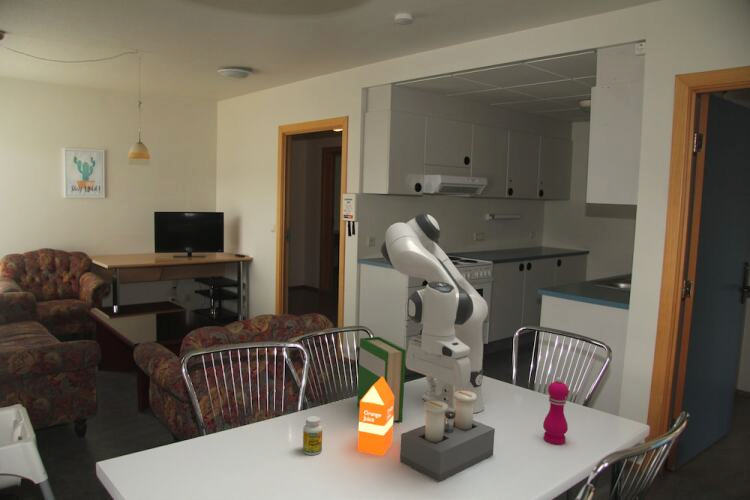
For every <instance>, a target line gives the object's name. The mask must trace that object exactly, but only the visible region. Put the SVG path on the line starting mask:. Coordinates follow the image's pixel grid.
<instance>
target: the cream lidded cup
mask: <svg viewBox="0 0 750 500" xmlns="http://www.w3.org/2000/svg"><path fill="white" fill-rule="evenodd" d="M454 398H455V399H456V410H455V412H454V413H455V414H456V415H455V426H454V427H455V428H458V429H460V430H463V431H465V432H466V431H468V430H470V429H472V421H473V420H474V419H473V417H474V413H473V406H474V401H476V398H477V395H476V394H475V393H473V392H470V391H456V392H454Z"/></svg>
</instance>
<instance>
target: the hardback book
mask: <svg viewBox="0 0 750 500" xmlns="http://www.w3.org/2000/svg"><path fill="white" fill-rule="evenodd" d="M358 355H359V357H358V358H359V359H358V378H357V379H358V381H357V382H358V383H357V399H356V400H357V401H356V402H357V403H356V407H358V409H360V401H361V400H362V398H363V397H364V396H365V395H366V393H367V392H368V391H369V390H370V388H371V387H372V386H373V385H374V384H375V383H376V382H377V381H378V380H379V379H380V378H381V377H382V376H383V378H384V379H385V381H386V383H387V385H388V386H389V388H390V390H391V392H392V393H393V395H394V411H393V422H395V421H397V422H398V424H400V423H403V413H404V409H403V408H404V393H405V374H406V372H405V371H406V355H407V350H406V349H405V348H403V347H401V346H399V345H397V344H394V343H392V342H390V341H388V340H387V339H385V338H383V337H381V336H374V337H373V336H372V337H371V336H370V337H362V338H361V337H360V339H359V353H358Z"/></svg>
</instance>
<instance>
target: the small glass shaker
mask: <svg viewBox="0 0 750 500" xmlns="http://www.w3.org/2000/svg"><path fill="white" fill-rule="evenodd" d="M455 415H456V414H455V412H451V411H447V412H445V416H444V418H445V417H446V418H445V432H447V433H453V430H454V418H455Z"/></svg>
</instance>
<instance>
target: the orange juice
mask: <svg viewBox="0 0 750 500" xmlns="http://www.w3.org/2000/svg"><path fill="white" fill-rule="evenodd" d="M393 411H394V395H393V393H392V392H391V390H390V388H389V386H388V385H387V383H386V381H385V379H384V378H383V376H382V377H381V378H380V379H379V380H378V381H377V382H376V383H375V384H374V385H373V386H372V387H371V388H370V390H369V391H368V392H367V393H366V395H365V396H364V397H363V398H362V400H361V401H360V408H359V414H358V415H359V416H358V417H359V418H358V437H357V438H358V441H357V442H358V443H357V451H358V452H362V453H367V454H372V455H377V456H384V455H385V453H386V452H387V450H388V449H389V448H390V447H391V445H392V444H393V429H394V428H393V427H394V421H393Z"/></svg>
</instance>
